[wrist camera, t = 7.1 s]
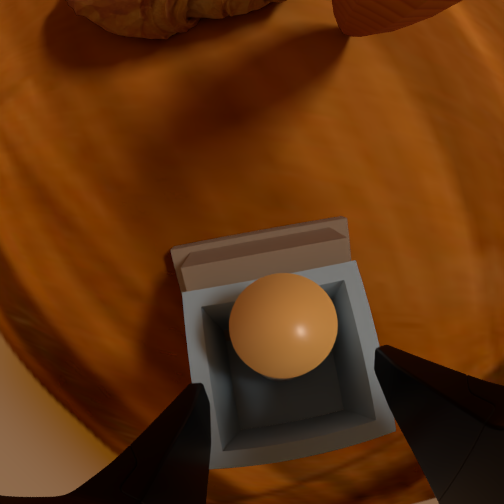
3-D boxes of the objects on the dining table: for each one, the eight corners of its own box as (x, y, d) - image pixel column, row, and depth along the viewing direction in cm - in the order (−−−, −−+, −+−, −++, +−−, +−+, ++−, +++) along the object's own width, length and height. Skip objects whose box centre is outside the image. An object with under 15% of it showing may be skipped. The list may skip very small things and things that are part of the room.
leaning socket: (350, 374, 18) (401, 473, 9) (218, 399, 18) (210, 511, 9) (341, 215, 15) (442, 260, 7) (174, 246, 15) (106, 323, 7)
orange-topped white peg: (317, 375, 14) (348, 364, 8) (255, 387, 14) (237, 386, 8) (305, 316, 16) (323, 264, 9) (245, 328, 16) (222, 283, 9)
